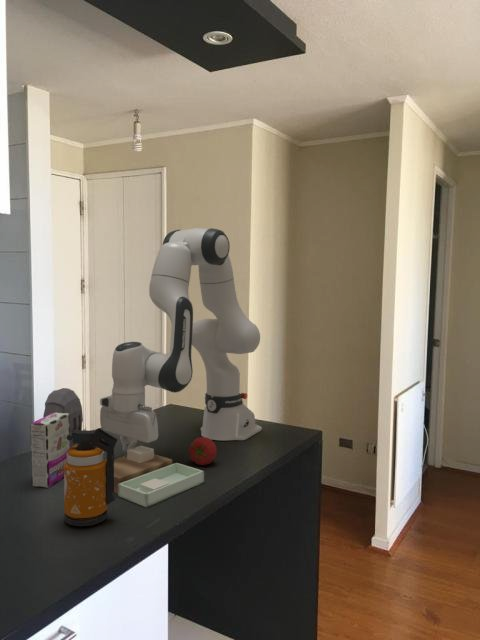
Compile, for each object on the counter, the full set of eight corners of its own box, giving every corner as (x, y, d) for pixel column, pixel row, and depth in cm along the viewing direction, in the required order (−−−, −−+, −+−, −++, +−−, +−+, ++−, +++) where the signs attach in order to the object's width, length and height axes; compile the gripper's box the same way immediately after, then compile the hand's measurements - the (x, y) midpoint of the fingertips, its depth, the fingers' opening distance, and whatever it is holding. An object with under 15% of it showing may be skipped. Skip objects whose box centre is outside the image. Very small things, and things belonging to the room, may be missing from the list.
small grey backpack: (65, 446, 169) (64, 382, 168) (90, 448, 168) (90, 384, 166) (39, 462, 155) (38, 392, 153) (66, 464, 153) (65, 394, 152)
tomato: (207, 430, 159) (196, 432, 152) (225, 449, 157) (215, 452, 149) (190, 449, 160) (178, 452, 153) (207, 469, 158) (196, 473, 150)
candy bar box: (54, 471, 148) (53, 411, 146) (71, 473, 147) (70, 413, 145) (30, 486, 137) (29, 422, 135) (48, 488, 136) (47, 423, 134)
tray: (176, 473, 148) (176, 462, 147) (204, 482, 141) (204, 471, 141) (117, 496, 132) (117, 484, 132) (146, 507, 126) (146, 494, 125)
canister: (70, 511, 123) (69, 424, 121) (119, 510, 124) (119, 423, 122) (59, 529, 114) (58, 435, 113) (113, 528, 115) (113, 435, 113)
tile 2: (141, 454, 151) (141, 445, 150) (153, 458, 148) (153, 449, 147) (127, 459, 147) (127, 449, 146) (139, 463, 144) (139, 453, 143)
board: (141, 464, 154) (141, 450, 154) (172, 474, 147) (172, 459, 147) (89, 482, 140) (88, 467, 140) (119, 494, 133) (119, 478, 133)
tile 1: (169, 483, 133) (169, 493, 133) (155, 478, 136) (155, 488, 136) (154, 489, 129) (154, 499, 129) (139, 484, 132) (139, 494, 132)
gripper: (163, 405, 145) (163, 456, 146) (114, 394, 158) (114, 441, 159) (145, 410, 140) (145, 463, 141) (96, 398, 153) (96, 446, 154)
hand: (128, 451), depth 150 cm, fingers closed
